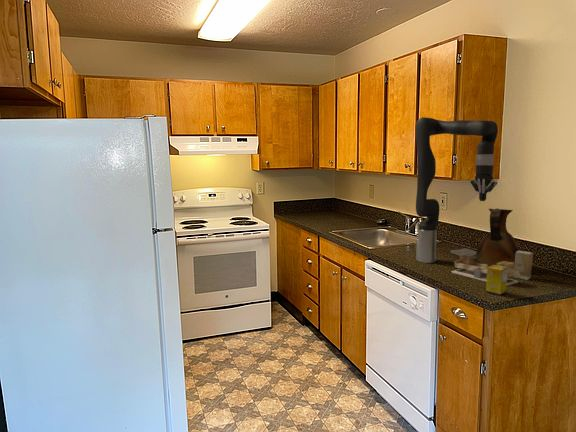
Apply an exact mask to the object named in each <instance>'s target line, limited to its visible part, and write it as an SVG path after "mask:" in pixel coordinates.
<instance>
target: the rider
mask: <svg viewBox="0 0 576 432" xmlns="http://www.w3.org/2000/svg"><path fill="white" fill-rule="evenodd" d="M458 260H459V263H462V264H467V265H472V266H473V265H474V262H475V261H474V255H471V254H465V253H464V254H460V256H459V259H458Z"/></svg>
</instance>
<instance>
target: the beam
mask: <svg viewBox="0 0 576 432" xmlns="http://www.w3.org/2000/svg"><path fill="white" fill-rule="evenodd" d="M459 260H460V259H456V260H454V263H453V264H454V267H455V268H459V269H467V270H471V271H474V270H480V271H481V273H486V274H487V267H489V266H488V265H485V264H481V263H479V262H475V261H474V265H473V266H472V265H467V264H462V263H459ZM497 265H498V266H503V267H508V271H507V278H510V277H513V276H514V275H516V272H514V263H513V262H507V261H503V262H499V263H497Z"/></svg>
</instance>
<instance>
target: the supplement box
mask: <svg viewBox="0 0 576 432" xmlns="http://www.w3.org/2000/svg"><path fill="white" fill-rule="evenodd" d="M507 271H508V267H503V266H498V265H492V266H488V267H487V282H486V284H485V285H486V287H485V289H486V291H485V293H487V294H491V295H494V296H499V297H500V296H503V295H505V294H506V293H507V278H508V277H507Z"/></svg>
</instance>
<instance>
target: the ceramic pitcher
mask: <svg viewBox="0 0 576 432" xmlns="http://www.w3.org/2000/svg"><path fill="white" fill-rule="evenodd" d="M488 210H489V212H490V213H489V230H490V231H489V232H488V233H486V234H485V235H484V237H483V238H482V239H481V240H480V242H479V244H478V246H477V249H476V258H477V260H476V261H477V263H480V264H485V265H488V267H490V266H492V265H497V263H499V262H503V261H507V262H513V263H514V265H515V255H516V252H517V251H521V250H520V247H519V245H518V242H517V240H516V239H515V237H514V235H512V234H511V233H509V231H508V230H507V219H508V216H509V215H510V213H512V212H513V209H506V208H505V209H504V208H503V209H502V208H488Z"/></svg>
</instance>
